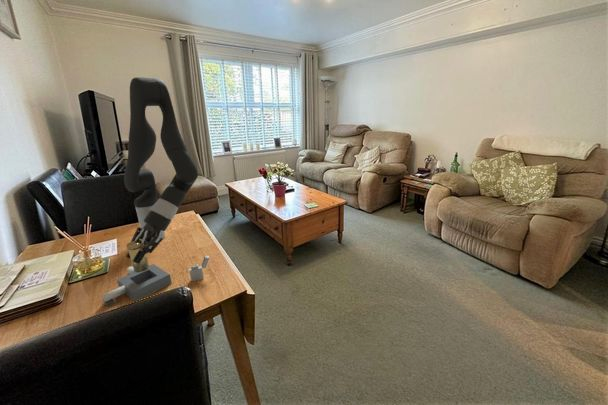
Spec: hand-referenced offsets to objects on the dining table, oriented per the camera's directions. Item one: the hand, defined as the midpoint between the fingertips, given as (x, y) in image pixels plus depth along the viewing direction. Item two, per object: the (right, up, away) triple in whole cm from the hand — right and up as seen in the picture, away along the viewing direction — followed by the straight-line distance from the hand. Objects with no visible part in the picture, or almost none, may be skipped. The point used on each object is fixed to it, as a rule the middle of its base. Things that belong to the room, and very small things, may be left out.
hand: (132, 260), depth 88 cm
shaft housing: (-2, -10, +4) cm, 11 cm away
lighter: (+19, -8, +9) cm, 23 cm away
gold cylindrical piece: (+1, -4, +3) cm, 5 cm away
